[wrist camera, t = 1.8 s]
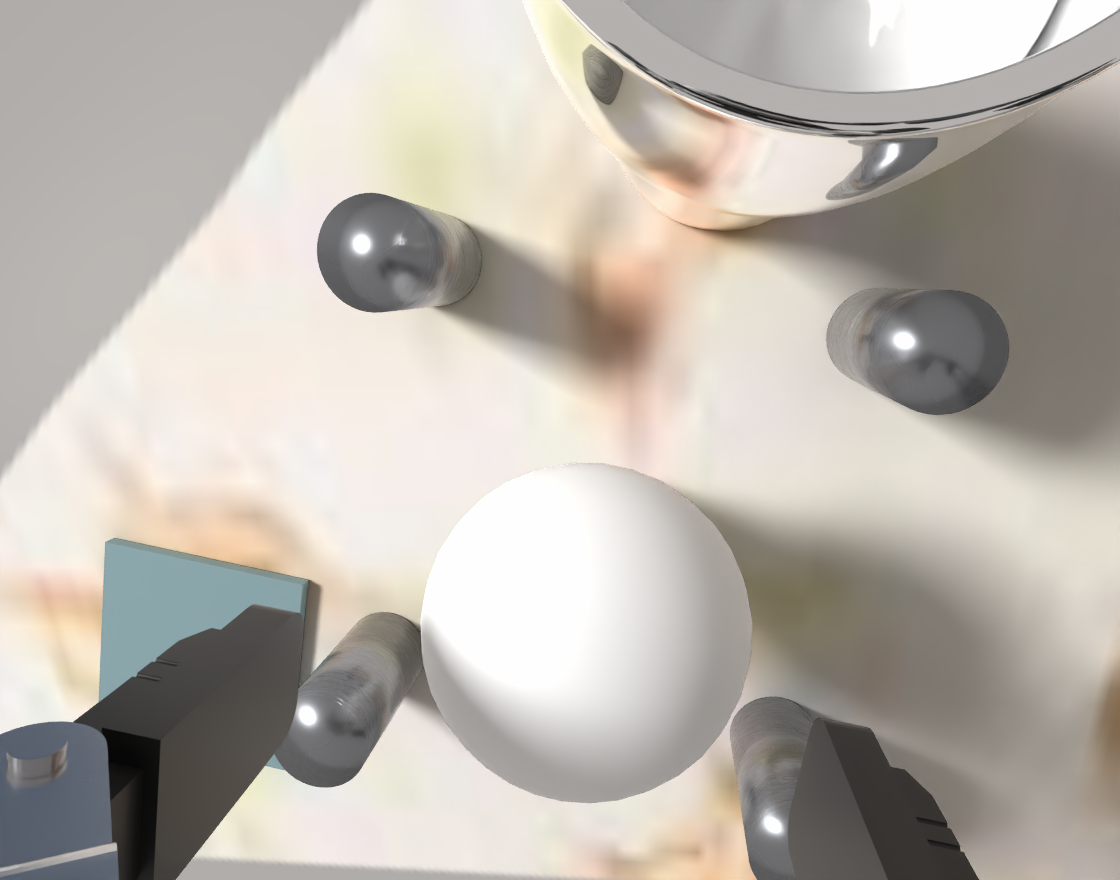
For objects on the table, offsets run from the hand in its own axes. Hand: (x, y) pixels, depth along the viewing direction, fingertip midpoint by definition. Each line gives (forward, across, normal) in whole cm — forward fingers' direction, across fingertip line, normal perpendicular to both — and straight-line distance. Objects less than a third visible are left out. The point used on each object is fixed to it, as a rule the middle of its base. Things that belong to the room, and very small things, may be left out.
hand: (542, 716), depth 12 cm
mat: (+11, +12, +7) cm, 17 cm away
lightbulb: (+11, -1, 0) cm, 11 cm away
